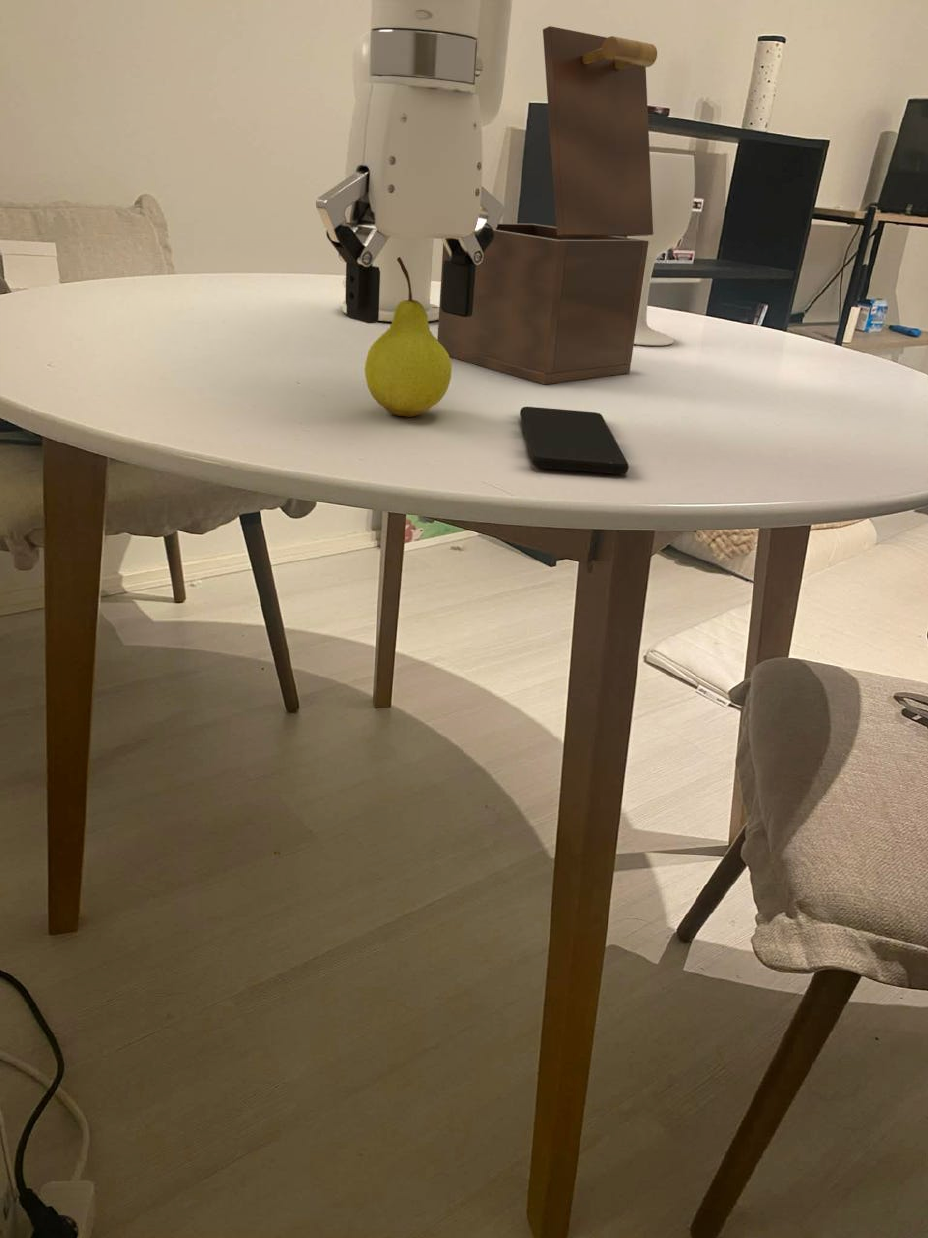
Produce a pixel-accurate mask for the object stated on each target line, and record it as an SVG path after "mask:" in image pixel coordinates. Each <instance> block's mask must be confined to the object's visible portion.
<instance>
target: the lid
mask: <svg viewBox="0 0 928 1238" xmlns="http://www.w3.org/2000/svg"><path fill="white" fill-rule="evenodd" d="M542 37H543V53H544V67H545V80H546V95H547V109H548V110H547V111H548V124H549V125H548V126H549V138H550V153H551V155H550V156H551V166H552V169H551V170H552V183H553V196H554V211H555V227H556V228H557V236H619V237H627V236H649V235H653V218H652V196H651V174H650V152H651V151H650V132H649V130H650V129H649V109H648V108H649V107H648V88H647V86H648V85H647V68H650V67H652V66H653V65H654V64H655V62H656V61H657V58H658V50H657V47H656V46H655V44H653V43H648V42H643V41H638V40H633V39H629V38H623V37H619V36H613V35H611V36H608V37H607V36H601V35H596V34H591V33H586V32H582V31H577V30H571V29H567V28H561V27H556V26H552V25H550V26H547V27H545V28H543V29H542Z"/></svg>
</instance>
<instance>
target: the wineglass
mask: <svg viewBox="0 0 928 1238" xmlns="http://www.w3.org/2000/svg"><path fill="white" fill-rule="evenodd" d="M650 174H651V196H652V218H653V235H649V236H626V238H633V239H640V240H646V241H649V243H648V250H647V257H646V264H645V270H644V277H643V284H642V291H641V298H640V305H639V312H638V318H637V325H636V332H635V339H634V345H637V346H649V347H650V346H652V347H655V346H656V347H657V346H658V347H659V346H668V345H673V343H674V340H673V338H671V337H670V336H669V335H667V334H665V333H663V332H661V331H658V330H655V329H652V328H650V326H649V325H648V321H647V319H648V317H647V316H648V315H647V313H648V303H649V294H650V286H651V282H652V281H651V280H652V276H653V275H652V274H653V271H654V267H655V264H656V261H657V259H658V257H659V256H661V255H662V254H664V253H665V252H667V251H668V250H670V249H672V248H673V247H674V246H675V245H677V244H678V243H679V242H680V241H681V240H682V238H683V237H684V236H685V234H686V233H687V230H688V228H689V225H690V222H691V218H692V214H693V208H694V204H695V203H694V201H695V193H696V192H695V191H696V165H695V156H694V155H692V154H683V153H682V154H681V153H669V152H668V153H667V152H657V151H650Z"/></svg>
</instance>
